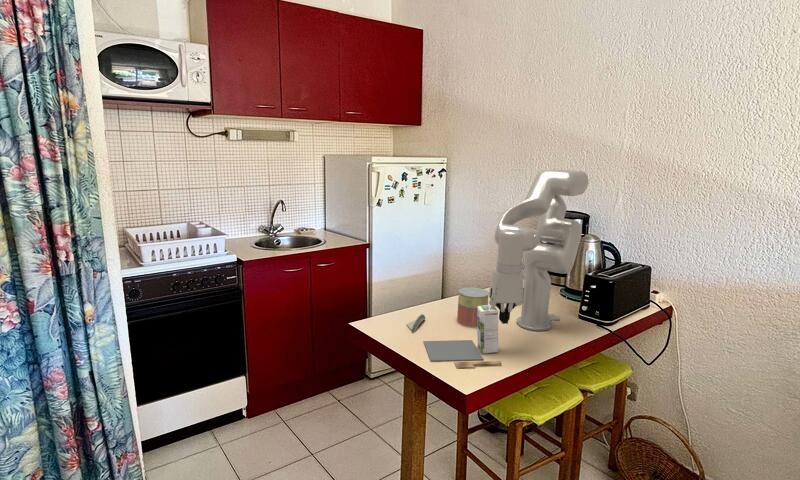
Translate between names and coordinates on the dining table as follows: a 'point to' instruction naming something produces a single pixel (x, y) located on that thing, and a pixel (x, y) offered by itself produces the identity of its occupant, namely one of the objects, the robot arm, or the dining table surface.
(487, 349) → the syrup box
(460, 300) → the canned food
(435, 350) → the mat
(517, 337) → the dining table surface
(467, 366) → the spatula
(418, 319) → the ceramic fragment
